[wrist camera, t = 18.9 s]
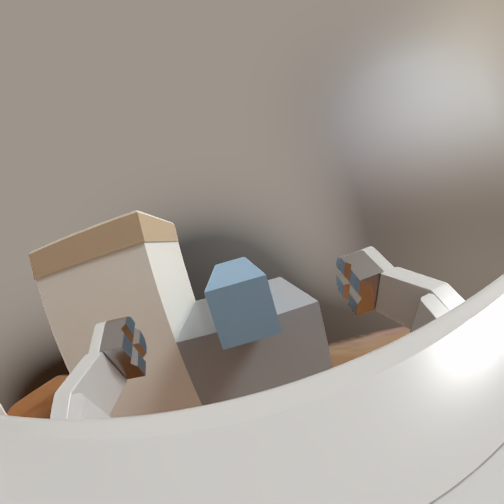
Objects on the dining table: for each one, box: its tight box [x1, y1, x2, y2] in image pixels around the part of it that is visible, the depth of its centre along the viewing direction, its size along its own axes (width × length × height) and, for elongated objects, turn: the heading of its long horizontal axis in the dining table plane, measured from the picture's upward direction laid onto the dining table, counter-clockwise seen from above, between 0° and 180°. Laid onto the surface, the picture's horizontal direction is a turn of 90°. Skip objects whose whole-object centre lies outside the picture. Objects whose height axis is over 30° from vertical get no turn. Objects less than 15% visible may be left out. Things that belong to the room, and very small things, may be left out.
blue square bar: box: [204, 257, 282, 350], centre depth 27 cm, size 20×4×4 cm, turn 6°
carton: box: [29, 210, 202, 418], centre depth 29 cm, size 16×12×26 cm
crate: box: [176, 277, 333, 406], centre depth 30 cm, size 16×12×15 cm
